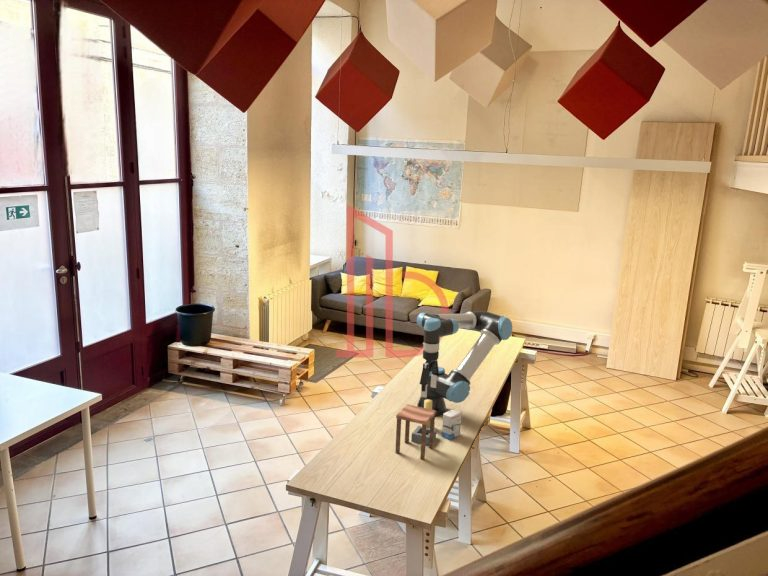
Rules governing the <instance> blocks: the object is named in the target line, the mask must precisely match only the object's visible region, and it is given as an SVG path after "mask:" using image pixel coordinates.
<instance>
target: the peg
mask: <svg viewBox="0 0 768 576" xmlns="http://www.w3.org/2000/svg"><path fill="white" fill-rule="evenodd" d="M424 408H427V409H431V410H432V400H429V399H426V400H424ZM426 428H430V421H429V422H428V423H427V426H426Z"/></svg>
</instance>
